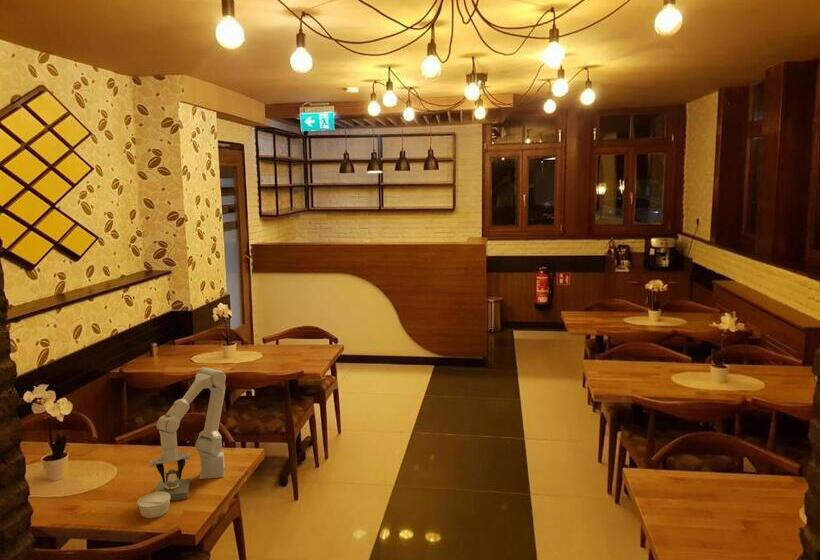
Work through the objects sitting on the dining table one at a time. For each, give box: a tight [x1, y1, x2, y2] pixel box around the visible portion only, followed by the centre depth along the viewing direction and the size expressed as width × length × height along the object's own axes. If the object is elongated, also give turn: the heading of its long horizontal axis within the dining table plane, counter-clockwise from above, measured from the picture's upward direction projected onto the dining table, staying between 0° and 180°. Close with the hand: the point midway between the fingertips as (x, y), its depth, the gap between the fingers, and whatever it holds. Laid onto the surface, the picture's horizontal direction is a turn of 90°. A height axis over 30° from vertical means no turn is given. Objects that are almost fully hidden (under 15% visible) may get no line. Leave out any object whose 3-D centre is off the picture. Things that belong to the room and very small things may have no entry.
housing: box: [165, 468, 179, 490], centre depth 246 cm, size 5×5×7 cm
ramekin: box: [136, 491, 171, 519], centre depth 233 cm, size 11×11×5 cm
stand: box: [154, 477, 192, 502], centre depth 247 cm, size 12×12×2 cm
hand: (171, 480), depth 246 cm, fingers open, 5 cm apart
